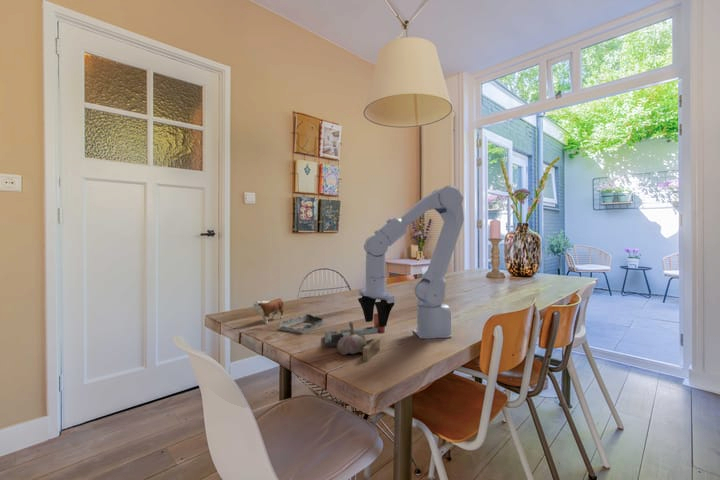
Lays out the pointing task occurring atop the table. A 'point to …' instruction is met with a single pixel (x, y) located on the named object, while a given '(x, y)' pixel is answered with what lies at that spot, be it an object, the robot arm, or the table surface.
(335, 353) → the table surface
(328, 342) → the base
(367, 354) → the bar
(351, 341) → the garlic bulb
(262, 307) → the bull figurine
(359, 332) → the lever
